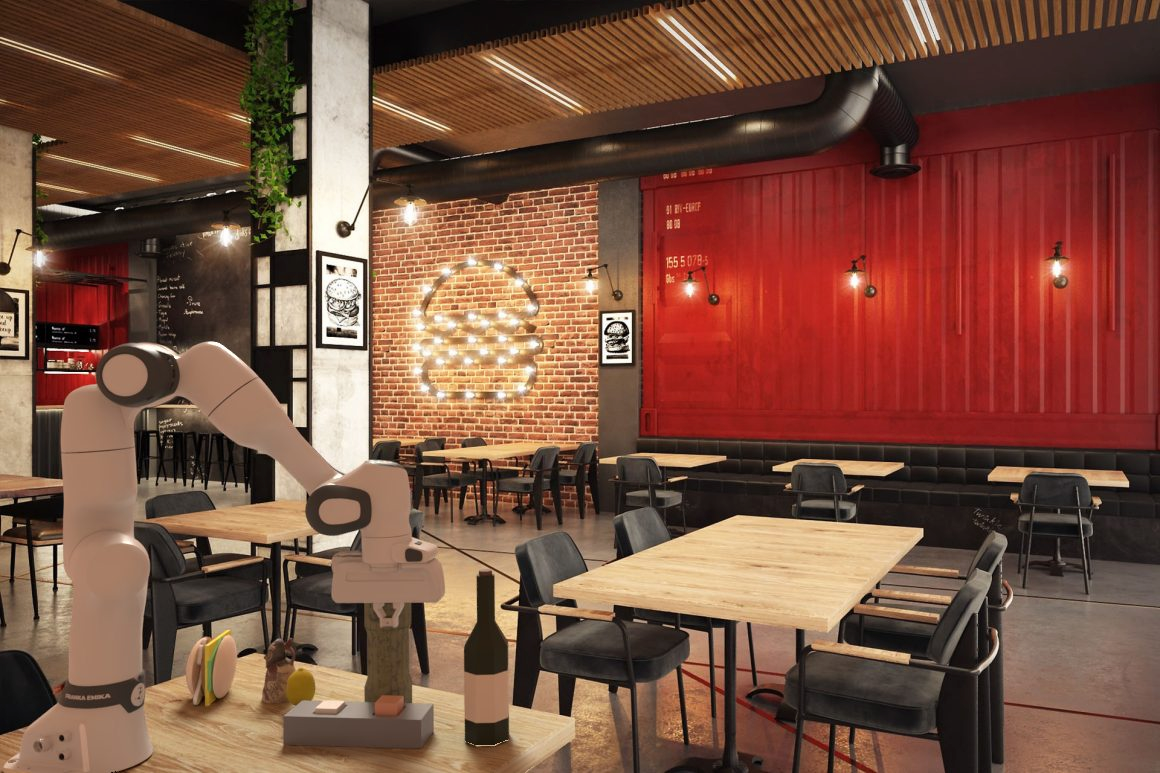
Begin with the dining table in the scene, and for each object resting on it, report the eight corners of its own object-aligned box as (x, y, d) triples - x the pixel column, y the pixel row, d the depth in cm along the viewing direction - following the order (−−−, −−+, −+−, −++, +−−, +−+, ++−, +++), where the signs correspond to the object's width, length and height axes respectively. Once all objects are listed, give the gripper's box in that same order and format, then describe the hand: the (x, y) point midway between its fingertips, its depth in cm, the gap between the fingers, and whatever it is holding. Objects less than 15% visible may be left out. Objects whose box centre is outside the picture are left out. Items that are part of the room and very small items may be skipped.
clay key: (374, 722, 153) (374, 703, 153) (382, 714, 157) (382, 695, 157) (396, 723, 153) (396, 703, 153) (403, 715, 157) (403, 695, 157)
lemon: (319, 704, 173) (319, 664, 173) (308, 714, 167) (308, 672, 168) (293, 703, 173) (293, 663, 174) (281, 713, 168) (281, 672, 168)
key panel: (283, 744, 153) (283, 716, 153) (302, 727, 160) (302, 700, 161) (421, 748, 150) (421, 719, 150) (433, 731, 158) (433, 703, 158)
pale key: (315, 728, 154) (315, 708, 154) (324, 719, 158) (323, 700, 158) (336, 728, 154) (336, 708, 154) (345, 720, 158) (345, 701, 158)
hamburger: (202, 686, 184) (202, 630, 185) (241, 685, 185) (241, 629, 185) (178, 706, 172) (177, 646, 173) (220, 705, 173) (219, 645, 173)
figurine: (267, 692, 180) (266, 634, 180) (302, 690, 181) (301, 633, 181) (257, 704, 173) (257, 644, 173) (294, 702, 174) (294, 642, 174)
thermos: (421, 707, 170) (419, 530, 171) (400, 730, 158) (399, 539, 159) (378, 706, 171) (376, 529, 172) (354, 728, 160) (353, 539, 160)
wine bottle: (498, 750, 149) (496, 576, 149) (455, 744, 152) (453, 573, 152) (518, 732, 157) (516, 567, 157) (477, 727, 160) (475, 564, 160)
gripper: (324, 553, 153) (326, 631, 153) (437, 552, 151) (439, 631, 151) (338, 547, 159) (340, 622, 159) (446, 546, 157) (448, 621, 157)
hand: (389, 626), depth 155 cm, fingers closed
